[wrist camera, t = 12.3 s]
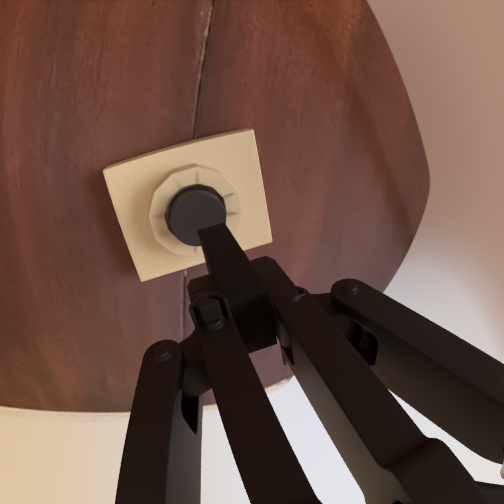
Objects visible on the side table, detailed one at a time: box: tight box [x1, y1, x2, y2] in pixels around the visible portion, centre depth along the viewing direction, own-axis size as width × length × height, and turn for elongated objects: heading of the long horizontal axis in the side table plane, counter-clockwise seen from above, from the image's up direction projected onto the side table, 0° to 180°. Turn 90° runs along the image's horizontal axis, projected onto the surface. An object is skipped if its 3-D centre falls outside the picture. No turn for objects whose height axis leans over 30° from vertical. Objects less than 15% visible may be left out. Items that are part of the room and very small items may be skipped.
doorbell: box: [103, 128, 272, 282], centre depth 24 cm, size 12×10×4 cm
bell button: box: [169, 187, 226, 247], centre depth 22 cm, size 4×4×2 cm
